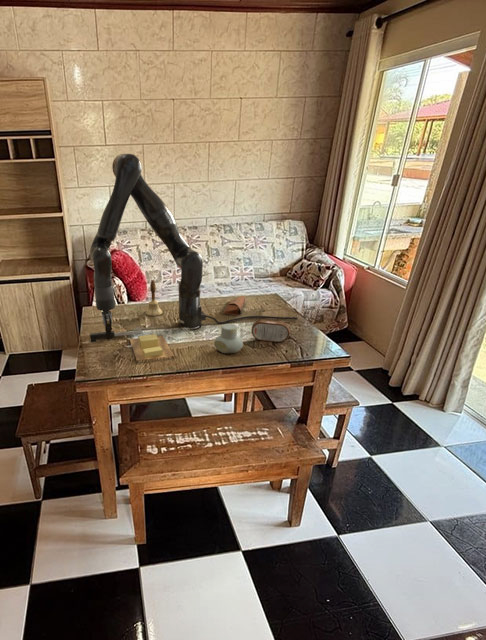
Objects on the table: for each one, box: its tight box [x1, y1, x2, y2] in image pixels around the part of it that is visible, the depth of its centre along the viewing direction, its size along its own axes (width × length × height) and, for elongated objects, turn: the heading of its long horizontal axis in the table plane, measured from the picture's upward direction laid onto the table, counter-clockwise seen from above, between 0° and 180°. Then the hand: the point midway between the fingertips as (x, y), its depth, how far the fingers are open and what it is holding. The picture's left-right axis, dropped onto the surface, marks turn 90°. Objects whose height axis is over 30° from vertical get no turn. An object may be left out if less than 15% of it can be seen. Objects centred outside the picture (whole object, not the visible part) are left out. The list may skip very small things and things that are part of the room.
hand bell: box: [145, 279, 164, 317], centre depth 193 cm, size 8×8×16 cm
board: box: [129, 335, 174, 361], centre depth 160 cm, size 14×20×1 cm
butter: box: [138, 333, 159, 349], centre depth 161 cm, size 7×5×4 cm
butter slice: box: [143, 346, 163, 358], centre depth 154 cm, size 7×2×4 cm
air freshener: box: [214, 323, 244, 354], centre depth 155 cm, size 11×8×10 cm
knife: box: [89, 329, 143, 343], centre depth 171 cm, size 22×2×3 cm, turn 102°
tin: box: [251, 319, 291, 343], centre depth 162 cm, size 15×3×8 cm, turn 71°
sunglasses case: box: [223, 295, 246, 316], centre depth 197 cm, size 18×7×7 cm
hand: (108, 336), depth 170 cm, fingers open, 3 cm apart
